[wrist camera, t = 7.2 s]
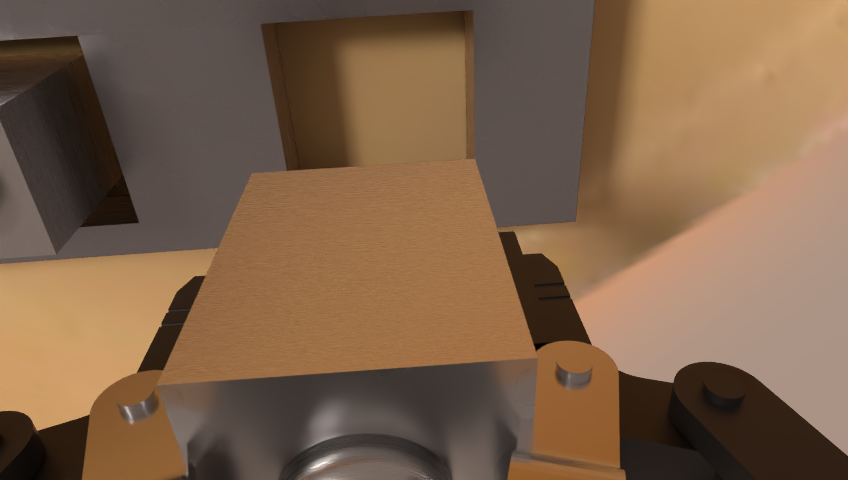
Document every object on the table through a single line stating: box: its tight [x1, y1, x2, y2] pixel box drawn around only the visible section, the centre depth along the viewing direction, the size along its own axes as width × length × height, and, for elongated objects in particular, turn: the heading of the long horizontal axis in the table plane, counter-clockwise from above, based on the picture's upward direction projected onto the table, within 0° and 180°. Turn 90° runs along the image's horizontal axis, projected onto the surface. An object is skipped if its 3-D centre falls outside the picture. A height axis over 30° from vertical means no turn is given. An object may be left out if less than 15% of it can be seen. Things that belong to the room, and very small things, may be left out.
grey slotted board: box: [0, 0, 595, 264], centre depth 21 cm, size 9×26×2 cm, turn 93°
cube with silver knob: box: [157, 159, 538, 480], centre depth 11 cm, size 4×4×7 cm
